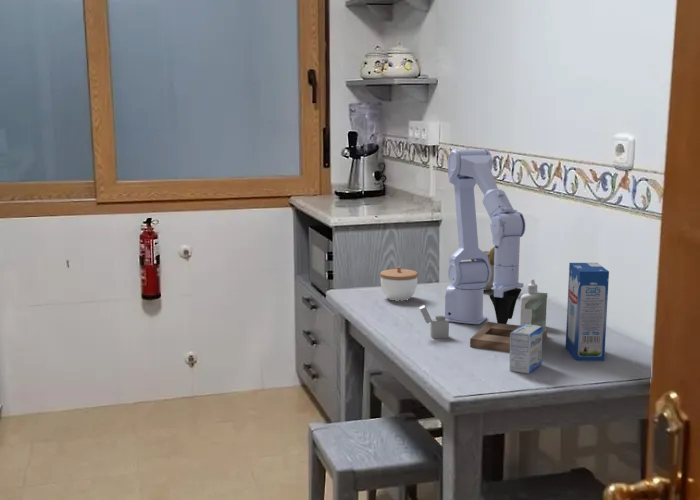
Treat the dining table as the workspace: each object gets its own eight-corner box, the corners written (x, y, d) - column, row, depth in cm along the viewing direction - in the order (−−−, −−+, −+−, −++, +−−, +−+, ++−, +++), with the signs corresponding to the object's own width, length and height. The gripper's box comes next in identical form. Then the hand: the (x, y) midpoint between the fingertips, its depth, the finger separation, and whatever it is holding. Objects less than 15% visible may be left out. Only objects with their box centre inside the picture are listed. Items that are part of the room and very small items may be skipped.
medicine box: (528, 375, 173) (530, 334, 171) (508, 371, 175) (509, 331, 173) (541, 364, 179) (543, 326, 178) (522, 361, 182) (523, 323, 180)
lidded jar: (420, 295, 243) (420, 264, 241) (414, 304, 233) (414, 271, 231) (383, 293, 246) (384, 262, 244) (376, 302, 235) (376, 269, 234)
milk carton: (565, 347, 192) (569, 262, 188) (592, 347, 191) (597, 262, 188) (575, 360, 182) (580, 271, 178) (604, 361, 182) (609, 271, 178)
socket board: (470, 347, 192) (471, 300, 190) (487, 329, 207) (489, 286, 205) (532, 354, 186) (534, 306, 184) (546, 336, 201) (548, 292, 199)
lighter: (447, 335, 201) (447, 303, 200) (448, 337, 200) (449, 305, 198) (418, 337, 200) (418, 304, 199) (419, 339, 199) (420, 306, 197)
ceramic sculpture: (508, 290, 250) (510, 240, 247) (494, 295, 243) (496, 244, 241) (477, 285, 257) (478, 237, 254) (463, 290, 250) (464, 241, 247)
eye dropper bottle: (538, 329, 207) (540, 282, 205) (517, 326, 210) (518, 279, 208) (544, 325, 211) (546, 279, 209) (523, 322, 214) (525, 276, 212)
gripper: (516, 271, 186) (514, 330, 188) (530, 260, 199) (528, 315, 201) (485, 268, 188) (483, 326, 191) (501, 258, 201) (499, 312, 204)
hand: (504, 320), depth 196 cm, fingers open, 4 cm apart
